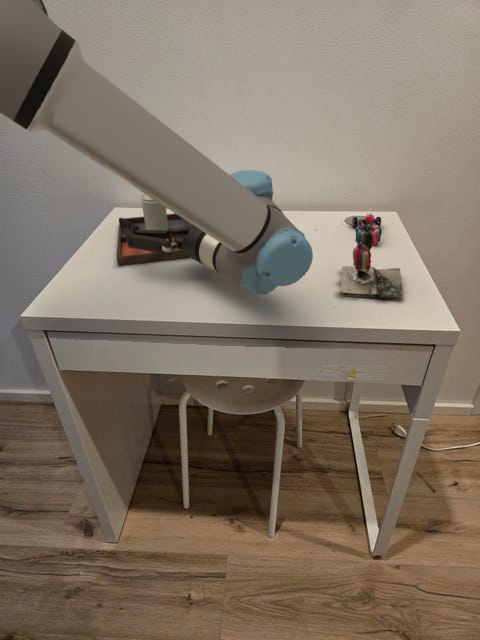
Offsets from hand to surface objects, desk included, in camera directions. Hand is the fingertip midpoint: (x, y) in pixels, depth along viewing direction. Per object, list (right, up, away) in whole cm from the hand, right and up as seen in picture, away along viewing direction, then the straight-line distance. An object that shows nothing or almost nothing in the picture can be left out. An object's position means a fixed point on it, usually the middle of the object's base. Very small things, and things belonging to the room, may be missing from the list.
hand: (148, 214), depth 94 cm
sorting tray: (+1, -4, +7) cm, 8 cm away
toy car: (+49, -3, +7) cm, 50 cm away
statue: (+45, -16, -10) cm, 49 cm away
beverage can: (+2, -7, +3) cm, 8 cm away
